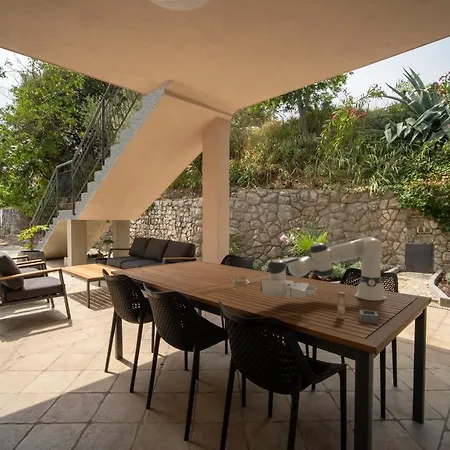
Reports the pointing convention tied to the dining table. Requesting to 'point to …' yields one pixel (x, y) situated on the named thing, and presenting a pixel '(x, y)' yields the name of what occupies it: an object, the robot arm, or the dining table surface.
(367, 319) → the square socket block
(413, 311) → the dining table surface
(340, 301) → the dowel
